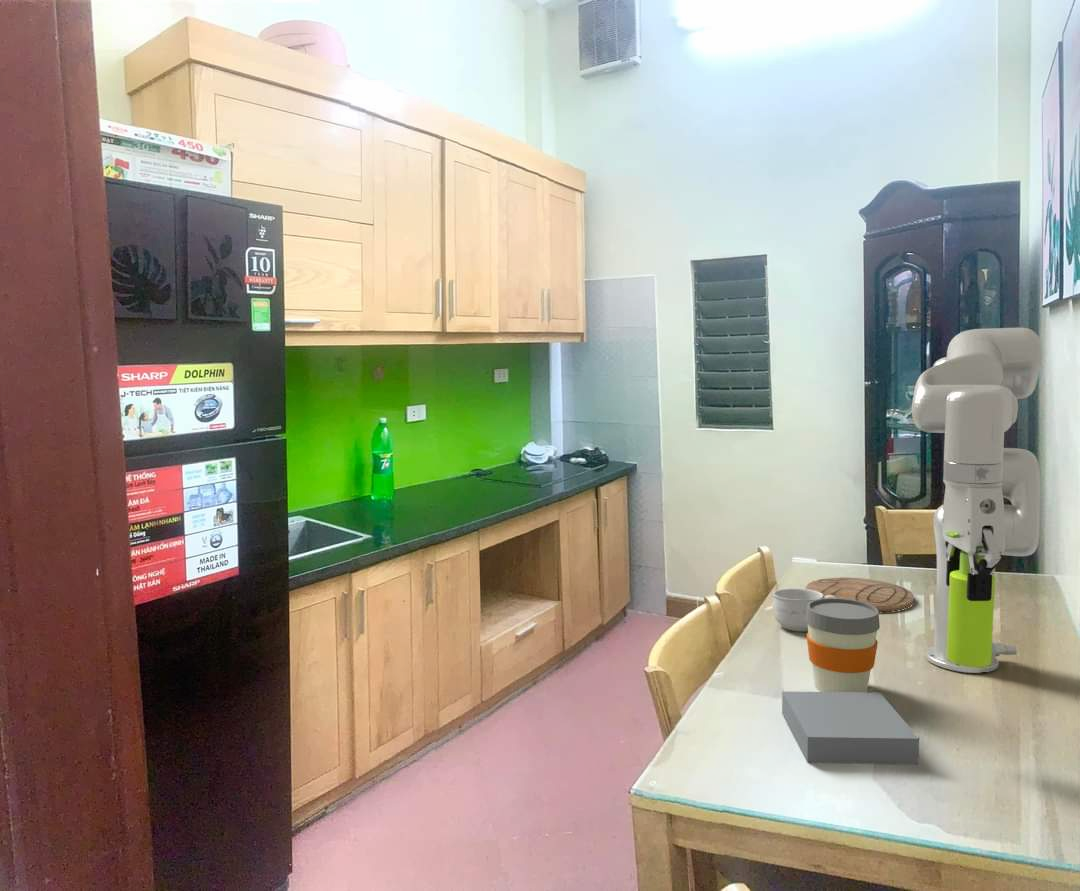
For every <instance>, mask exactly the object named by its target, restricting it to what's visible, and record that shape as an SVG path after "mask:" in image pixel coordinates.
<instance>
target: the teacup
mask: <svg viewBox="0 0 1080 891" xmlns="http://www.w3.org/2000/svg"><path fill="white" fill-rule="evenodd" d="M772 596H773V613H774V619H775V621H776V622H777V623H778V624H779V625H780V626H782V628H783V629H785V630H788V631H793V632H808V624H807V623H806V621H805V618H806V610H807V604H808V603H809V602H810V601H813V600H817V599H823V598H836V597H835V596H832V595H827V596H825V597H823V594H822V593H820V592H817V591H814V590H809V589H806V588H797V587H794V588H793V587H791V588H781V589H776V590H774V591H772Z"/></svg>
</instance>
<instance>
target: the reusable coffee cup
mask: <svg viewBox="0 0 1080 891" xmlns="http://www.w3.org/2000/svg"><path fill="white" fill-rule="evenodd" d="M879 614H880V613H878V609H877V608H875V607H874V606H872V605H870V604H867V603H864V602H861V601H856V600H851V599H842V598H823V599H817V600H813V601H810V602H809V603H808V604H807V610H806V618H805V621H806V623H807V624H808V631H807V633H806V642H807V651H808V652H807V653H808V657H809V658H808V660H809V662H810V663H811V667H812V673H813V681H814V682H813V683H814V688H815V689H816V688H817V689H818V690H819V691H818V690H817V689H816V690H817V691H818V692H868V689H869V688H868V687H869V681H870V678H871V677H870V675H871V670H873V669H874V666H875V662H876V656H877V649H878V644H879V642H878V640H877V633H878V630H880V628H881V626H880V615H879Z"/></svg>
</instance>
